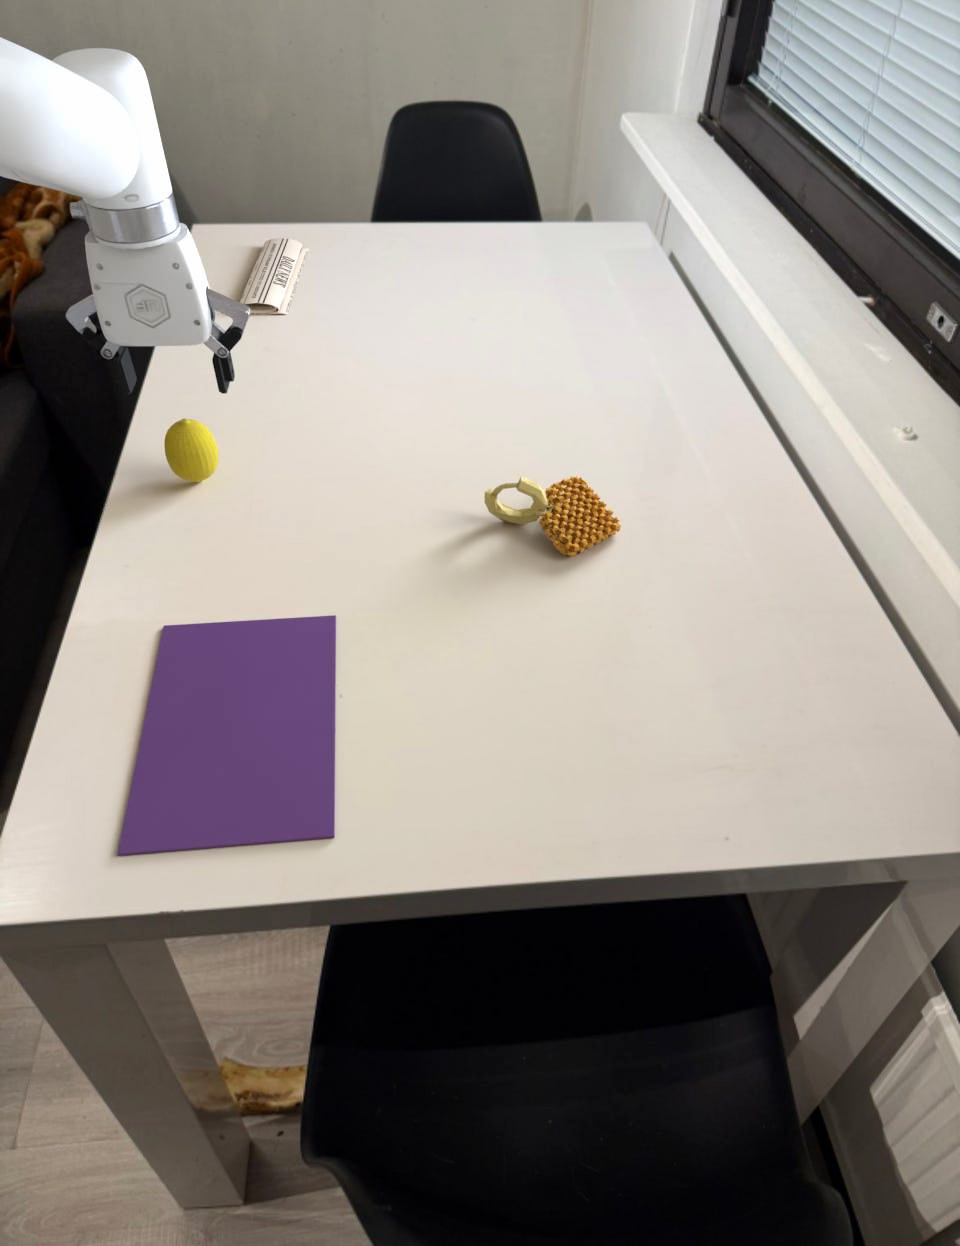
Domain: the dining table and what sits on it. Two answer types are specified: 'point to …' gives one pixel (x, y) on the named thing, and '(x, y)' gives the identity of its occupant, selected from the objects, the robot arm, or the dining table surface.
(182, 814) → the cloth
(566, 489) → the ornament
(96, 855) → the dining table surface
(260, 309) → the newspaper
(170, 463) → the lemon
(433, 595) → the dining table surface
